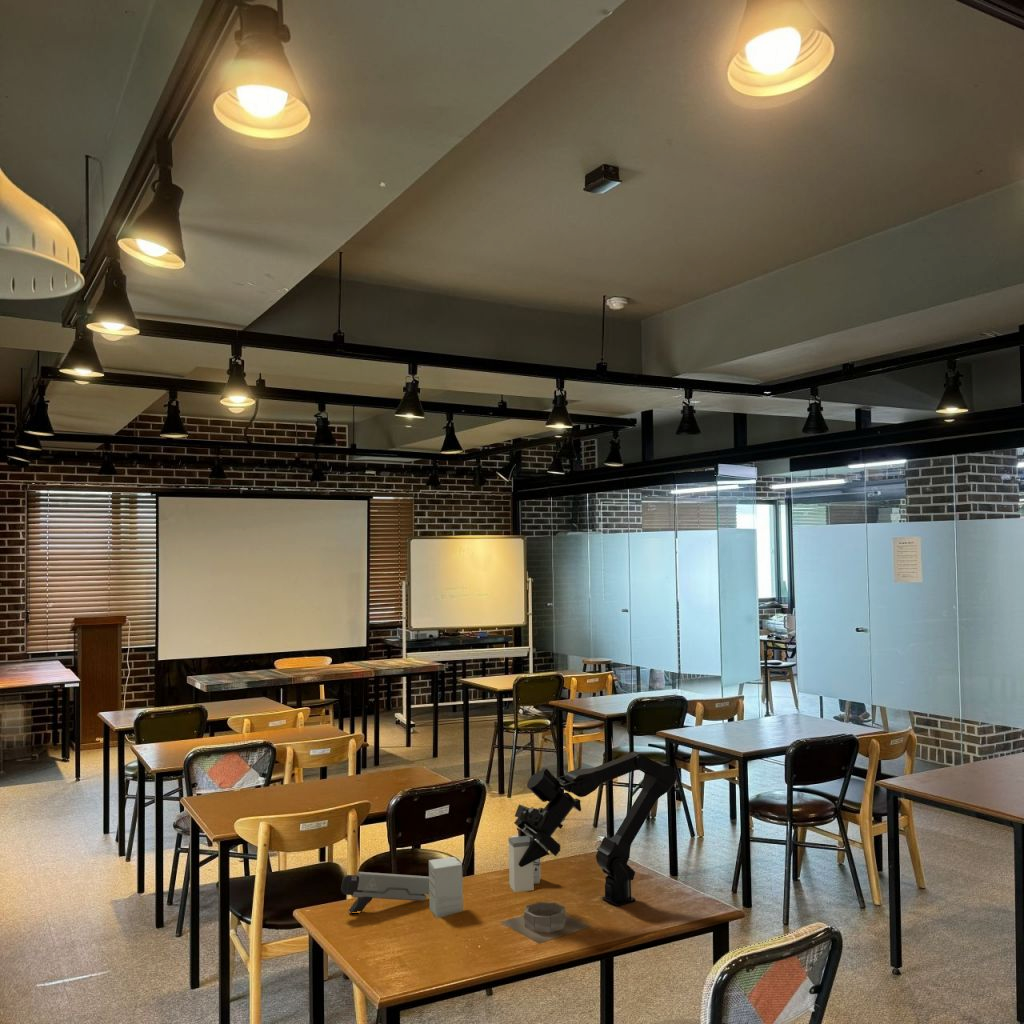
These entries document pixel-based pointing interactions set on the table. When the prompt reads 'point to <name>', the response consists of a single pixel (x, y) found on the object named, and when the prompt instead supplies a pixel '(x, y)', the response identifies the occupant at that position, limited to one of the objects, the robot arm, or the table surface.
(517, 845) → the link block
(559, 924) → the ring stand
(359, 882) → the gun
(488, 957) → the table surface
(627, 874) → the robot arm
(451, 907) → the supplement box
